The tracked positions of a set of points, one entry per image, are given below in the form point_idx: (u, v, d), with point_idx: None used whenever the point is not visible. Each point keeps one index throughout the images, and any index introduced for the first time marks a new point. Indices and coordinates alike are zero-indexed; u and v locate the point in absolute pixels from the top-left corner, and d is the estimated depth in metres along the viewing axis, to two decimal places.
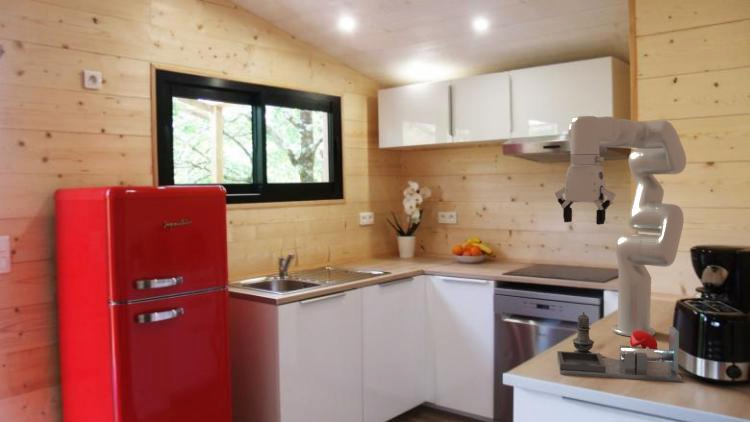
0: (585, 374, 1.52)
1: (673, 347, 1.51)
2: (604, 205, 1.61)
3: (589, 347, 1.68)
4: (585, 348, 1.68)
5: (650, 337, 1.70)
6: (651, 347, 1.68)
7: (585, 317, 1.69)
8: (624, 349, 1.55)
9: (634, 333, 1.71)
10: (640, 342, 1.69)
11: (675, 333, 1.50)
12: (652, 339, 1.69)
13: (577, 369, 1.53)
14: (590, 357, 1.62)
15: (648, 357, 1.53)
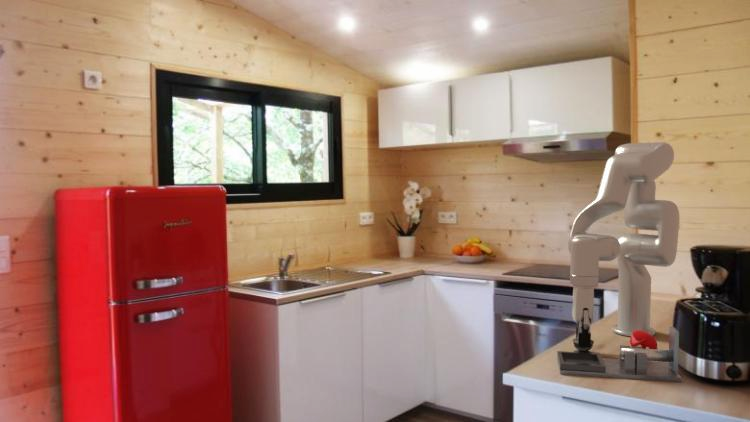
0: (585, 374, 1.52)
1: (673, 347, 1.51)
2: None
3: None
4: (585, 348, 1.68)
5: (650, 337, 1.70)
6: (651, 347, 1.68)
7: None
8: (624, 349, 1.55)
9: (634, 333, 1.71)
10: (640, 342, 1.69)
11: (675, 333, 1.50)
12: (652, 339, 1.69)
13: (577, 369, 1.53)
14: (590, 357, 1.62)
15: (648, 357, 1.53)
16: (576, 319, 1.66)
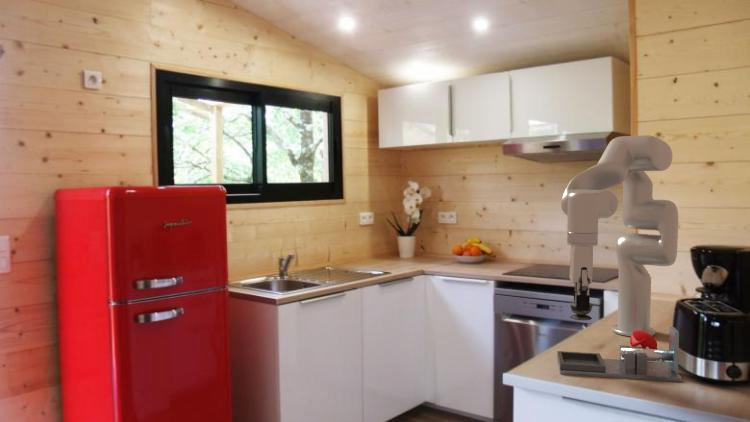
0: (585, 374, 1.52)
1: (673, 347, 1.51)
2: None
3: None
4: (583, 311, 1.55)
5: (650, 337, 1.70)
6: (651, 347, 1.68)
7: None
8: (624, 349, 1.55)
9: (634, 333, 1.71)
10: (640, 342, 1.69)
11: (675, 333, 1.50)
12: (652, 339, 1.69)
13: (577, 369, 1.53)
14: (590, 357, 1.62)
15: (648, 357, 1.53)
16: (574, 280, 1.53)
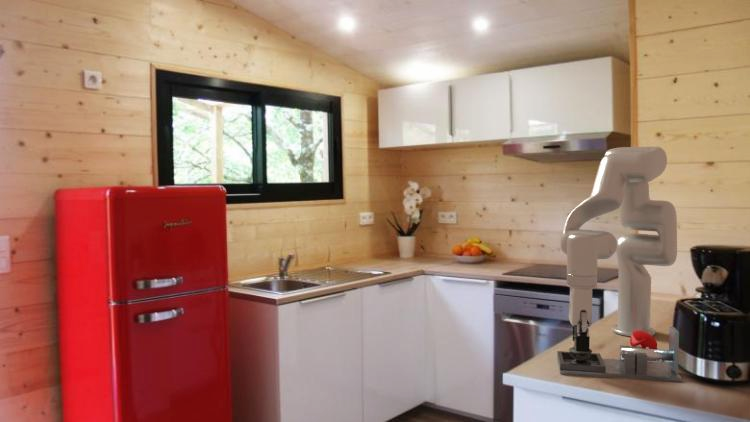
0: (585, 374, 1.52)
1: (673, 347, 1.51)
2: None
3: (587, 356, 1.56)
4: (582, 358, 1.56)
5: (650, 337, 1.70)
6: (651, 347, 1.69)
7: None
8: (624, 349, 1.55)
9: (634, 333, 1.71)
10: (640, 342, 1.69)
11: (675, 333, 1.50)
12: (652, 339, 1.69)
13: (577, 369, 1.53)
14: (590, 357, 1.62)
15: (648, 357, 1.53)
16: (573, 322, 1.53)
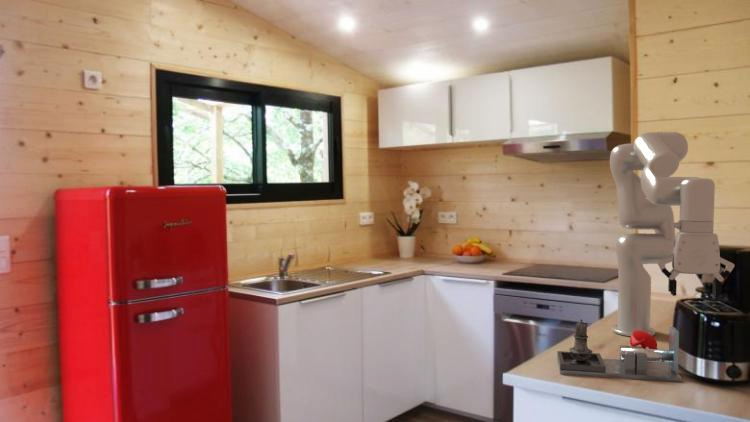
0: (585, 374, 1.52)
1: (673, 347, 1.51)
2: None
3: (587, 357, 1.56)
4: (583, 358, 1.56)
5: (650, 337, 1.70)
6: (651, 347, 1.69)
7: (583, 325, 1.57)
8: (624, 349, 1.55)
9: (634, 333, 1.71)
10: (640, 342, 1.69)
11: (675, 333, 1.50)
12: (652, 339, 1.69)
13: (577, 369, 1.53)
14: (590, 357, 1.62)
15: (648, 357, 1.53)
16: (719, 269, 1.47)
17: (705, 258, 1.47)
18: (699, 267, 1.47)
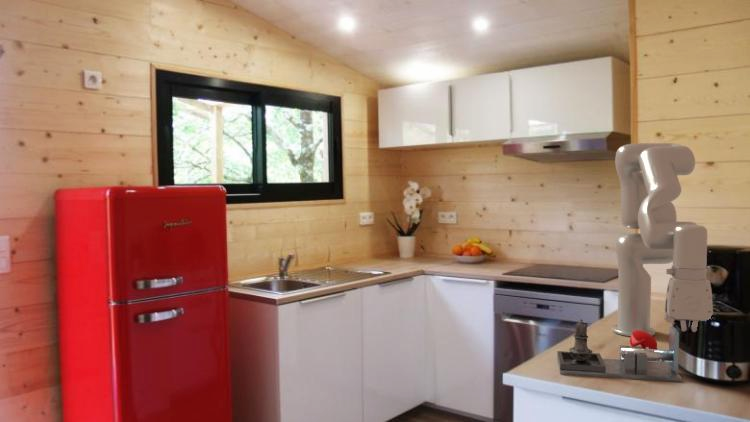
0: (585, 374, 1.52)
1: (673, 347, 1.51)
2: None
3: (587, 357, 1.56)
4: (583, 358, 1.56)
5: (650, 337, 1.70)
6: (651, 347, 1.69)
7: (583, 325, 1.57)
8: (624, 349, 1.55)
9: (634, 333, 1.72)
10: (640, 342, 1.69)
11: (675, 333, 1.50)
12: (652, 339, 1.69)
13: (577, 369, 1.53)
14: (590, 357, 1.62)
15: (648, 357, 1.53)
16: None
17: (698, 305, 1.48)
18: (692, 314, 1.49)
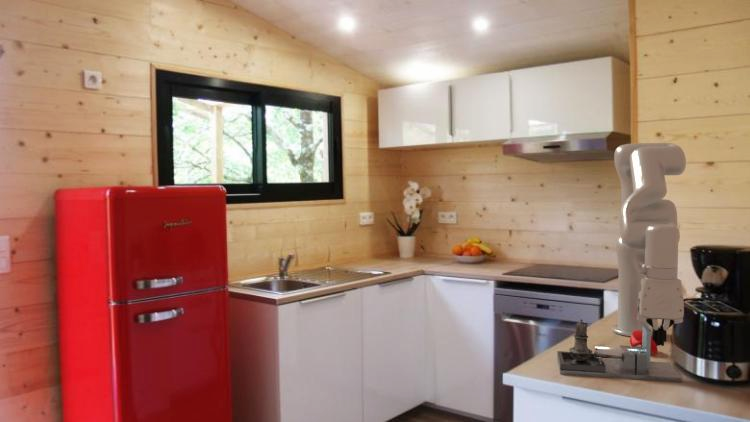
0: (585, 374, 1.52)
1: (645, 345, 1.53)
2: None
3: (587, 357, 1.56)
4: (583, 358, 1.56)
5: None
6: (651, 347, 1.69)
7: (583, 325, 1.57)
8: (597, 348, 1.56)
9: (634, 333, 1.72)
10: (640, 342, 1.69)
11: (647, 332, 1.52)
12: (652, 339, 1.69)
13: (577, 369, 1.53)
14: (590, 357, 1.62)
15: (620, 356, 1.54)
16: (683, 315, 1.50)
17: (669, 304, 1.50)
18: (664, 312, 1.50)
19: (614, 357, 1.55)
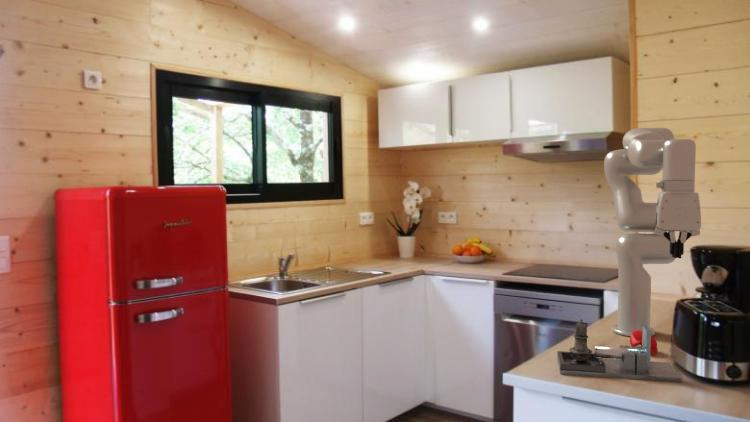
0: (585, 374, 1.52)
1: (645, 345, 1.53)
2: None
3: (587, 357, 1.56)
4: (583, 358, 1.56)
5: None
6: (651, 347, 1.69)
7: (583, 325, 1.57)
8: (597, 348, 1.56)
9: (634, 333, 1.72)
10: (640, 342, 1.69)
11: (647, 332, 1.52)
12: (652, 339, 1.69)
13: (577, 369, 1.53)
14: (590, 357, 1.62)
15: (620, 356, 1.54)
16: (700, 226, 1.53)
17: (687, 216, 1.53)
18: (681, 224, 1.53)
19: (614, 357, 1.55)
